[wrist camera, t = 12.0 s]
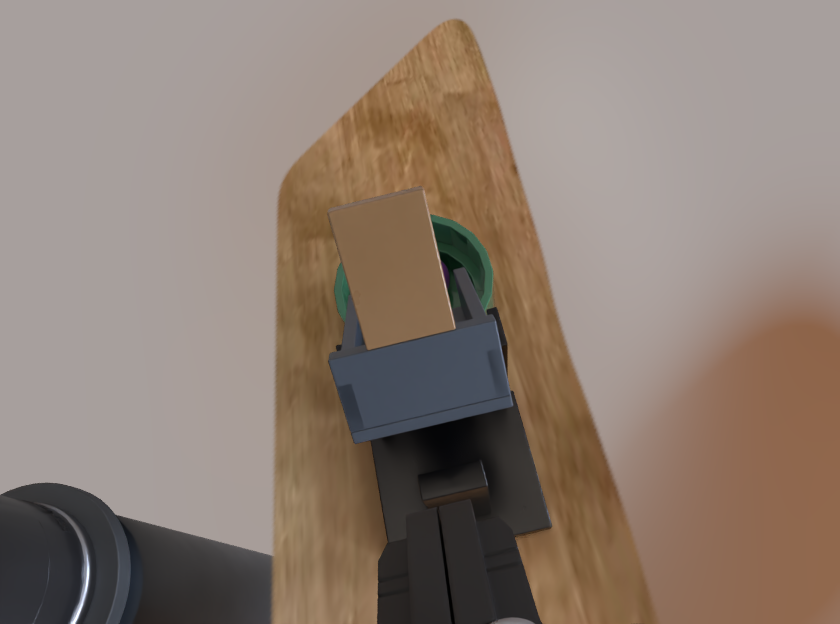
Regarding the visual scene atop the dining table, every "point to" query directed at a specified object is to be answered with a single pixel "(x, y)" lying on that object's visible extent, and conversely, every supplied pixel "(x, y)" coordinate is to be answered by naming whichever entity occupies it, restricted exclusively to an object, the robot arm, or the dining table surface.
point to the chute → (408, 325)
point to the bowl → (455, 253)
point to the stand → (462, 468)
